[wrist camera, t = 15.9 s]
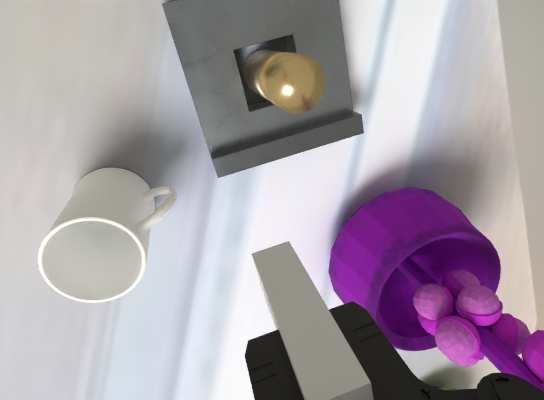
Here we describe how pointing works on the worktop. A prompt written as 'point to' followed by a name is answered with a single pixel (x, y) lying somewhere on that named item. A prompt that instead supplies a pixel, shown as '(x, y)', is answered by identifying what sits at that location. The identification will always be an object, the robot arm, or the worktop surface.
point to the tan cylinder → (285, 79)
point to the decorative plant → (431, 283)
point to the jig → (228, 87)
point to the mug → (102, 236)
